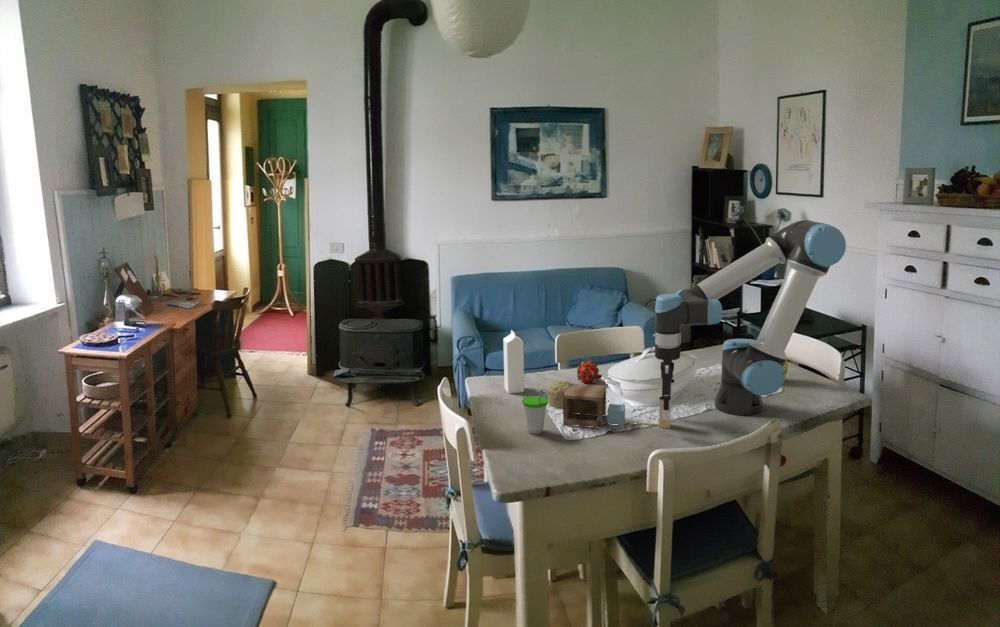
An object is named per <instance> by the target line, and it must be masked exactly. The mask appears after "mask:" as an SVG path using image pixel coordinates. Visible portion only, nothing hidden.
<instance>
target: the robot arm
mask: <svg viewBox="0 0 1000 627" xmlns="http://www.w3.org/2000/svg"><path fill="white" fill-rule="evenodd" d="M846 241H847V240H846V239H845V235H844V234H843V232H841V230H840V229H838V228H837V227H835V226H833V225H831V224H829V223H824V222H818V221H813V220H809V219H806V220H805V219H803V220H798V221H795V222H792V223H790V224H788V225H787V226H785V227H783V228H781V229H779V230H778V231H776V232H774V233H773V234H771V235H769V236H768V237H766V238H765V242H764V243H763V244H761V245H759V246H758V247H755V249H753V250H751V251H749V252H748V253H746V254H745V255H743V256H742V257H739V258H738V259H736V260H735V261H733V262H732V263H729V264H728V265H726V266H725V267H723V268H722V269H719V270H718V271H717V272H715V273H713V274H712V275H710V276H708V277H707V278H705V279H704V280H702V281H701V282H698V283H697V284H695V285H693V286H691V287H689V288H683V289H682V288H681V289H680V290H677V292H675V293H663V294H659V295H657V296H656V298H655V306H654V308H655V309H654V317H655V321H654V322H655V325H654V326H655V328H654V330H655V331H654V332H655V333H653V335H652V337H653V338H654V342H655V343H654V344H655V346H654V357H655V358H656V359H658V360H661V362H660V371H661V372H660V376H661V377H660V378H661V379H662V380H661V381H662V383H661V385H662V387H661V394H662V397H660V396H659V398H658V400H660V399H661V400H662V414H661V419H664V420H670V421H671V420H672V404H673V384H675V379H674V370H675V363H674V361H677V360H679V359H680V358H681V346H680V345H681V343H682V340H681V338H682V329H681V328H682V326H684V327H685V326H704V325H705V326H707V325H708V326H710V325H716V324H719V323H720V322H721V321H722V318H723V305H722V304H721V302H720V300H719V299H721V298H722V297H724V296H726V295H728V294H729V293H731V292H733V291H734V290H736V289H737V288H739V287H741V286H742V285H744V284H746V283H747V282H749V281H751V280H753V279H754V278H756V277H758V276H759V275H761V274H763V273H764V272H767V270H770V269H771V268H773V267H774V266H776V265H778V264H783V265H784V264H787V263H788V266H789V268H788V270H787V273H786V274H785V277H784V280H783V282H782V284H781V286H780V288H779V289H778V292H777V295H776V296H775V299H774V301H773V302H772V305H771V307H770V309H769V311H768V312H769V313H768V314H767V317H766V319H765V321H764V323H763V325H762V327H761V329H760V332H759V335H758V336H757V338H756V339H751V338H732V339H731V338H730V339H727V340H725V341H724V342H723V345H722V350H721V351H722V356H721V378H720V379H721V380H720V384H719V388H718V390H717V392H716V394H715V397H714V407H715V408H716V409H717V410H718V411H721V412H723V413H727V414H731V415H737V416H752V415H757V414H760V413H761V412H763V406H764V402H763V399H762V396H768V395H771V394H774V393H776V392H778V391H779V390H780V389H781V388H782V386H783V384H784V382H785V380H786V378H785V373H784V370H783V366H784V364H785V362H786V360H787V361H788V358H787V355H786V352H785V350H786V349H787V347H788V345H789V343H790V340H791V338H792V337H793V334H794V332H795V330H796V327H797V325H798V323H799V321H800V318H801V316H802V314H803V312H804V310H805V308H806V306H807V303H808V301H809V300H810V297H811V295H812V293H813V291H814V290H815V286H816V285H817V282H818V280H819V279H820V278H821V277H824V276H826V275H827V274H828V272H829V270H830V268H831V266H833V265H835V264H837V263H838V262H840V261H841V260H842V258H843V257H844V255H845V253H846V249H847V248H846V247H847V242H846ZM664 395H668V396H664Z"/></svg>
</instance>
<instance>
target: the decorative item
mask: <svg viewBox="0 0 1000 627" xmlns="http://www.w3.org/2000/svg"><path fill="white" fill-rule="evenodd" d="M569 383H571V382H569V381H566V380H565V381H564V380H558V381H554V382H553V383H551V384H550V385H549V387H548V390H547V400H548V404H547V405H549V406H550V407H552V408H554V409H555V408H556V409H563V395H564V393H565V391H566V389H567V387H568V385H569Z"/></svg>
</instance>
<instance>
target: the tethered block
mask: <svg viewBox="0 0 1000 627" xmlns="http://www.w3.org/2000/svg"><path fill="white" fill-rule="evenodd" d="M664 396H668V395H664ZM659 397H662V393H660V395H659ZM661 414H662V400H661V399H659V420H658V421H659V422H648V421H647V422H645V421H633V420H626V405H624V404H614V403H610V404H609V405H608V407H607V414H606V415H607V416H606V417H607V422H606V424H607V423H608V424H609V423H610V424H618V425H617V426H619V425H625V424H627V423H637V424H636V425H641V424H646V426H654V427H655V426H657V427H659V428H661V429H670V428H671V420H664V419H661Z"/></svg>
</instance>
